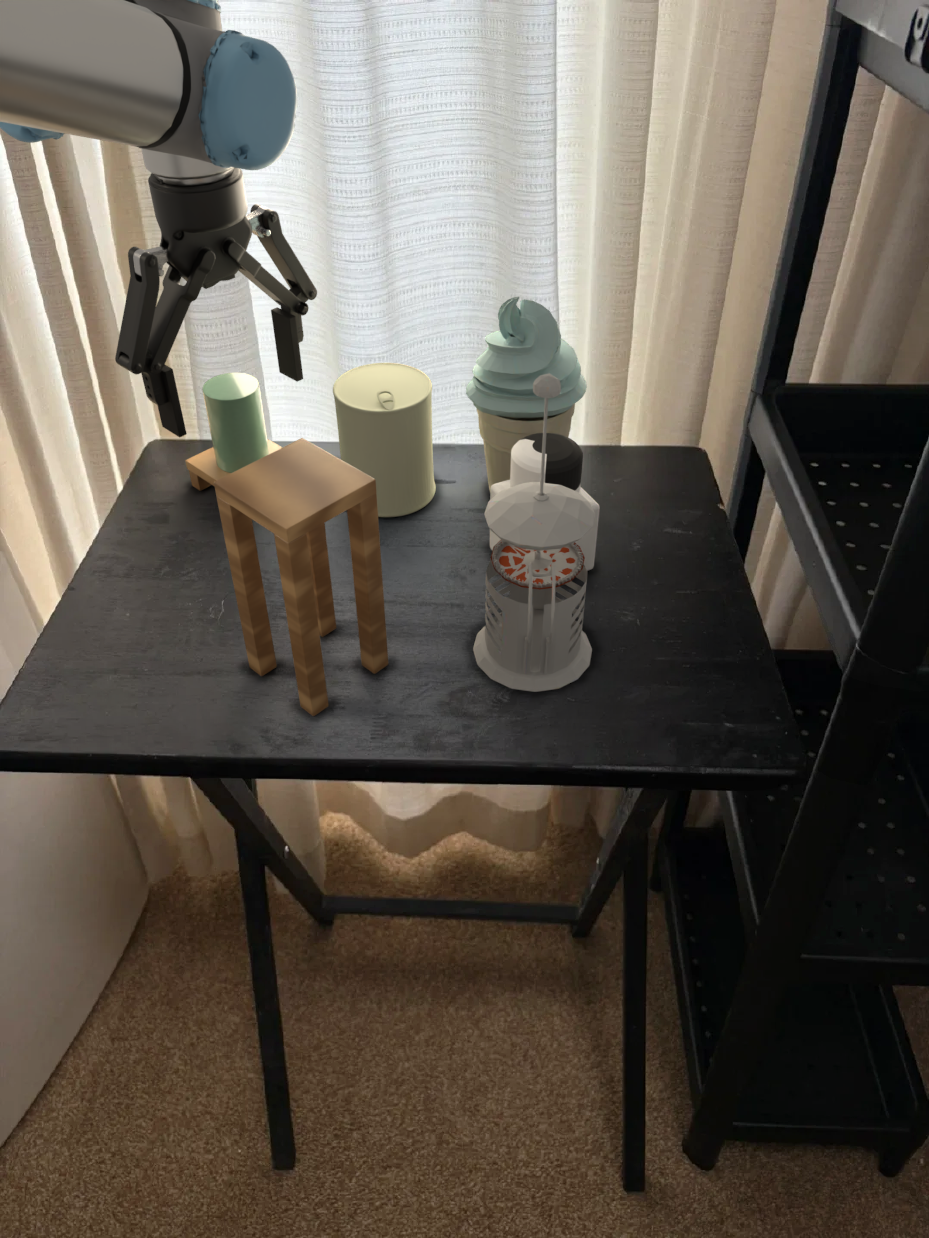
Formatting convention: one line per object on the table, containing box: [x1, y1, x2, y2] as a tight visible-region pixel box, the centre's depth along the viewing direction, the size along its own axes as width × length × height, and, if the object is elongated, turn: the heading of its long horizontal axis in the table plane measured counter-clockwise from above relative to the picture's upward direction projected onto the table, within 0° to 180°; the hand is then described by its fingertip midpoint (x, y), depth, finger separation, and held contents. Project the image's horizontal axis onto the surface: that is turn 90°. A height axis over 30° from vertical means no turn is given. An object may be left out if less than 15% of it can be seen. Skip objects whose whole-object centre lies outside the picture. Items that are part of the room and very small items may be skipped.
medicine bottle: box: [489, 433, 601, 572], centre depth 91 cm, size 7×7×12 cm
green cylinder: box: [202, 372, 269, 473], centre depth 100 cm, size 5×5×8 cm
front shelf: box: [213, 437, 389, 717], centre depth 79 cm, size 8×8×18 cm
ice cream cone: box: [465, 296, 588, 492], centre depth 97 cm, size 10×11×20 cm
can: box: [332, 362, 437, 518], centre depth 99 cm, size 9×9×12 cm
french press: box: [472, 373, 595, 693], centre depth 77 cm, size 10×12×25 cm
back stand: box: [184, 438, 283, 492], centre depth 103 cm, size 8×8×3 cm
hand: (235, 402), depth 98 cm, fingers open, 13 cm apart
